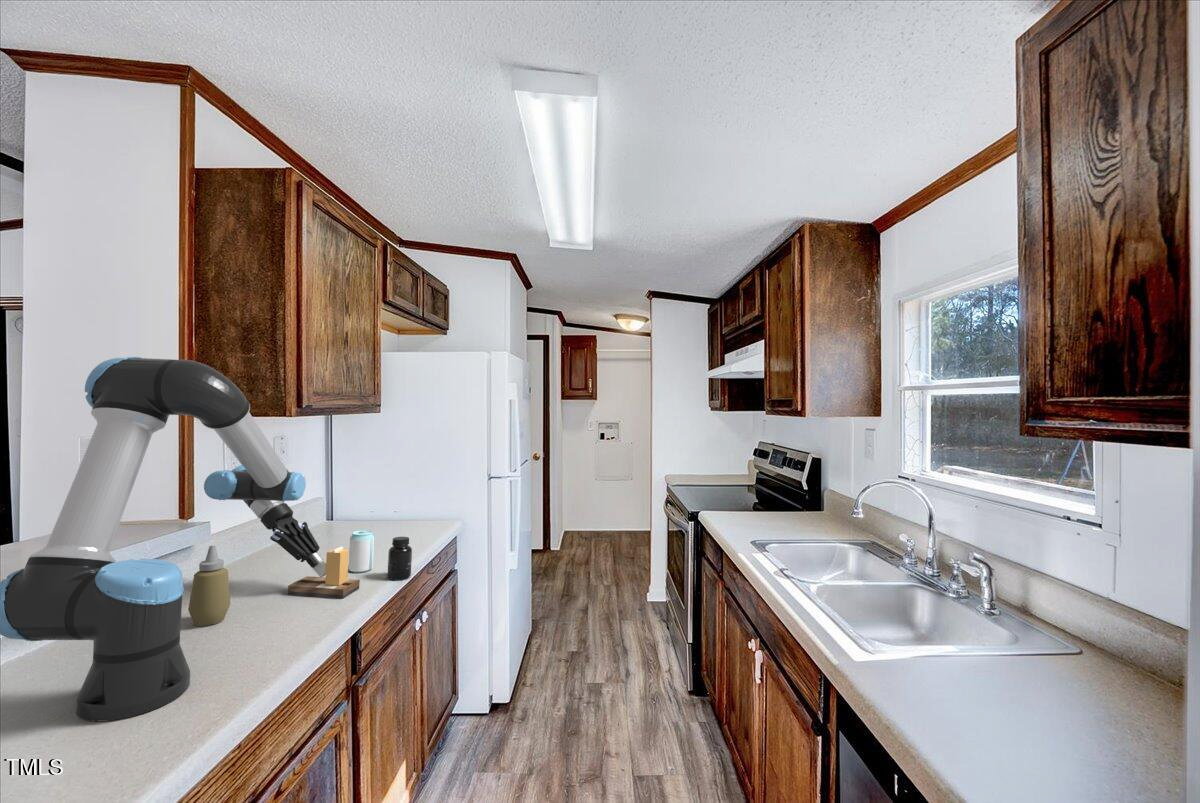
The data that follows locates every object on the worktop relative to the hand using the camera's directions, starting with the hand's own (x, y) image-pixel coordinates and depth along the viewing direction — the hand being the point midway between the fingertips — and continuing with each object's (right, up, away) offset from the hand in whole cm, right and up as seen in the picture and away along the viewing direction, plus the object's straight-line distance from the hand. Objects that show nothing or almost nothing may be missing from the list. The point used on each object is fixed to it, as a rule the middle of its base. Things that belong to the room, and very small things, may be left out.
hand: (325, 573), depth 146 cm
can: (+1, -5, +19) cm, 20 cm away
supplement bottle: (+15, -6, +14) cm, 22 cm away
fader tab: (+3, -4, 0) cm, 5 cm away
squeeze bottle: (-16, -4, -22) cm, 28 cm away
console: (0, -5, 0) cm, 5 cm away
